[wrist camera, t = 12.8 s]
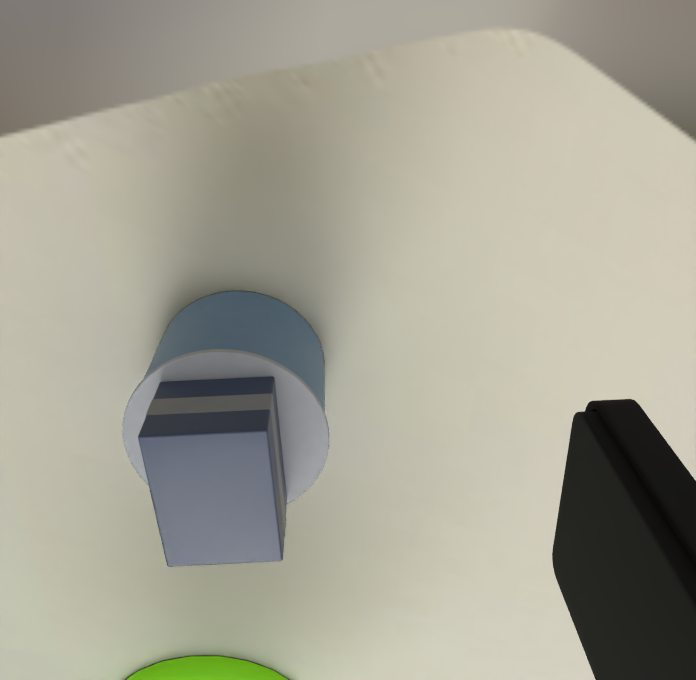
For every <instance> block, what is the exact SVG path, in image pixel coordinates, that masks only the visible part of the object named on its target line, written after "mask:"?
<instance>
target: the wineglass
mask: <svg viewBox="0 0 696 680" xmlns="http://www.w3.org/2000/svg"><path fill="white" fill-rule="evenodd" d="M126 680H288V679H286V678H285V677H283V676H282V675H280V674H278V673H277V672H275V671H274V670H271V669H268V668H266V667H263V666H260V665H257V664H255V663H252V662H249V661H245V660H239V659H233V658H227V657H221V656H189V657H184V658H178V659H172V660H167V661H162V662H159V663H157V664H154V665H152V666H149V667H147V668H144V669H142V670H139V671H137V672H136V673H135V674H133V675H132V676H130V677H129V678H128V679H126Z"/></svg>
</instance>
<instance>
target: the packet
mask: <svg viewBox="0 0 696 680" xmlns="http://www.w3.org/2000/svg"><path fill="white" fill-rule="evenodd" d="M138 440H139V445H140V449H141V453H142V458H143V462H144V466H145V471H146V475H147V479H148V484H149V488H150V492H151V497H152V501H153V505H154V510H155V514H156V518H157V523H158V527H159V531H160V536H161V540H162V544H163V549H164V553H165V557H166V562H167V566H169V567H173V566H192V565H212V564H232V563H251V562H271V561H282V559H283V549H284V537H285V527H286V505H287V494H286V484H285V474H284V465H283V455H282V445H281V436H280V426H279V416H278V407H277V397H276V387H275V378H274V377H273V376H272V377H251V378H230V379H209V380H188V381H167V382H160V383H159V385H158V388H157V390H156V393H155V395H154V398H153V399H152V401H151V403H150V406H149V408H148V410H147V413H146V418H145V420H144V423H143V425H142V428H141V430H140V433H139V435H138Z"/></svg>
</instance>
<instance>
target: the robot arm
mask: <svg viewBox="0 0 696 680" xmlns="http://www.w3.org/2000/svg"><path fill="white" fill-rule="evenodd" d="M552 556H553V567H554V572H555V576H556V579H557V582H558V584H559V587H560V589H561V592H562V594H563V597H564V600H565V602H566V605H567V607H568V610H569V612H570V615H571V617H572V620H573V623H574V625H575V628H576V630H577V633H578V635H579V638H580V641H581V643H582V646H583V648H584V651H585V653H586V656H587V659H588V661H589V664H590V666H591V669H592V671H593V674H594V677H595V679H596V680H696V481H695V480H694V478H693V477H692V476H691V474H690V473H689V471H688V470H687V469H686V467H685V466H684V465H683V463H682V462H681V461H680V459H679V458H678V457H677V455H676V454H675V453H674V451H673V450H672V449H671V447H670V446H669V445H668V443H667V442H666V440H665V439H664V438H663V436H662V435H661V434H660V432H659V431H658V430H657V428H656V427H655V426H654V424H653V423H652V422H651V420H650V419H649V418H648V416H647V415H646V414H645V412H644V411H643V409H642V408H641V407H640V405H639V404H638V403H637V402H636V401H635V400H632V399H622V400H602V401H591V402H589V403H588V405H587V407H586V410H585V412H577V413H576V414H575V415H574V418H573V422H572V429H571V435H570V442H569V448H568V455H567V461H566V467H565V474H564V480H563V487H562V493H561V500H560V506H559V513H558V519H557V526H556V532H555V539H554V545H553V554H552Z"/></svg>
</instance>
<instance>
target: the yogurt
mask: <svg viewBox="0 0 696 680" xmlns="http://www.w3.org/2000/svg"><path fill="white" fill-rule="evenodd" d="M272 376H273V377H274V378H275V387H276V397H277V407H278V416H279V426H280V436H281V445H282V455H283V465H284V474H285V484H286V494H287V504H288V503H290V502H292V501H293V500H295V499H296V498H298V497H299V496H300V495H302V494H303V493H304V492H305V491H306V490H307V489H308V488H309V487H310V486H311V485H312V484H313V482H314V481H315V480H316V478H317V477H318V476H319V474H320V472H321V470H322V468H323V466H324V464H325V461H326V458H327V454H328V449H329V428H328V422H327V418H326V415H325V369H324V355H323V351H322V347H321V344H320V342H319V339H318V337H317V335H316V333H315V332H314V330H313V329H312V327H311V326H310V325H309V323H308V322H307V321H306V320H305V319H304V318H303V317H302V316H301V315H300V314H299V313H298V312H297V311H295V310H294V309H292V308H291V307H289V306H288V305H286V304H285V303H283V302H281V301H279V300H277V299H274V298H272V297H269V296H266V295H262V294H259V293H254V292H246V291H229V292H221V293H216V294H212V295H209V296H206V297H203V298H201V299H199V300H197V301H195V302H193V303H191V304H190V305H188V306H187V307H185V308H184V309H183V310H182V311H181V312H179V313H178V314H177V315H176V316H175V317H174V319H173V320H172V321H171V323H170V324H169V325H168V327H167V329H166V331H165V333H164V335H163V337H162V339H161V342H160V344H159V346H158V348H157V351H156V353H155V355H154V357H153V360H152V362H151V364H150V366H149V369H148V371H147V373H146V375H145V377H144V379H143V380H142V381H141V383H140V384H139V385H138V386H137V388H136V389H135V391H134V392H133V394H132V396H131V398H130V400H129V402H128V405H127V407H126V410H125V413H124V419H123V439H124V446H125V449H126V452H127V455H128V457H129V459H130V461H131V463H132V465H133V467H134V469H135V470H136V471H137V473H138V474H139V476H140V477H141V478H142V479H143V480H144V481H145V483H146V484H147V485H148V486H149V484H148V479H147V475H146V471H145V466H144V462H143V458H142V453H141V449H140V445H139V440H138V435H139V433H140V430H141V428H142V425H143V423H144V420H145V418H146V413H147V410H148V408H149V406H150V403H151V401H152V399H153V398H154V395H155V393H156V390H157V388H158V385H159V383H160V382H167V381H188V380H209V379H230V378H251V377H272Z"/></svg>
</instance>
